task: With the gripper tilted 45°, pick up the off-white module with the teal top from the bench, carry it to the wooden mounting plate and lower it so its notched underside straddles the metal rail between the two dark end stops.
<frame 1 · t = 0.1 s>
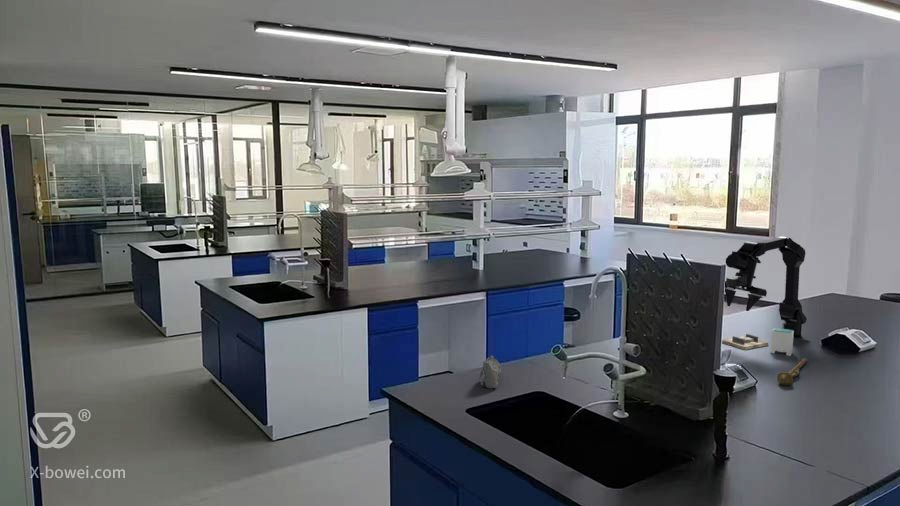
hand: (737, 308, 248), 15 cm above the counter, fingers open, 9 cm apart
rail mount: (744, 344, 251), on the counter
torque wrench: (794, 375, 215), on the counter
module: (781, 352, 239), on the counter
mineral rock: (493, 383, 208), on the counter
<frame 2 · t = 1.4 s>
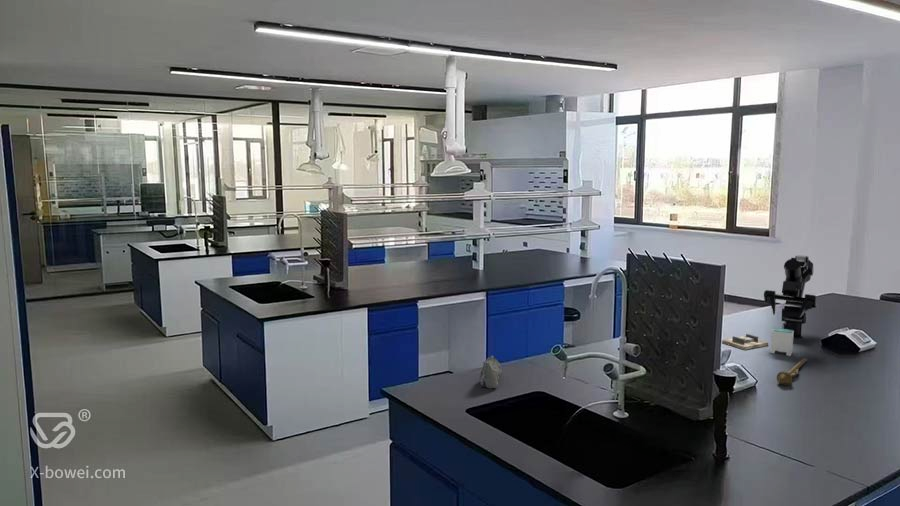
hand: (786, 315, 244), 13 cm above the counter, fingers open, 9 cm apart
nothing on the counter moved.
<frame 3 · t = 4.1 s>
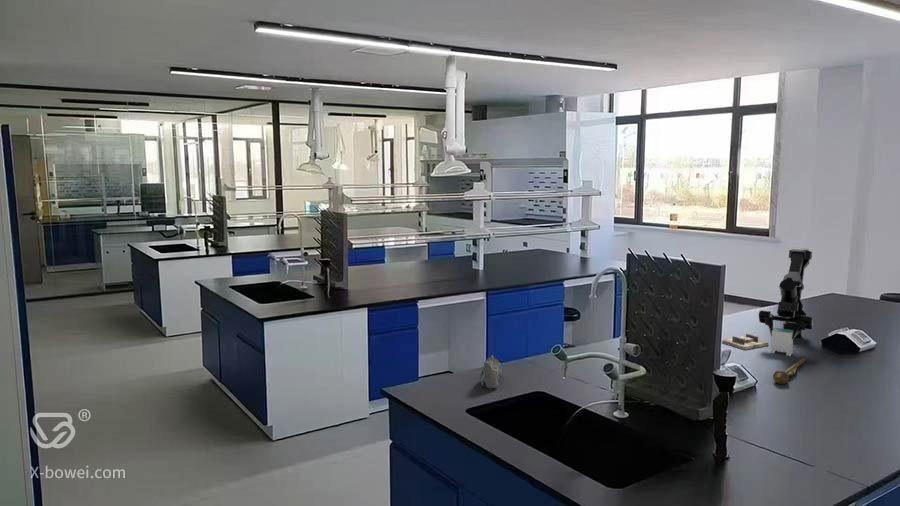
hand: (781, 337, 237), 7 cm above the counter, fingers closed on module, 7 cm apart
module: (781, 352, 239), on the counter, touching gripper
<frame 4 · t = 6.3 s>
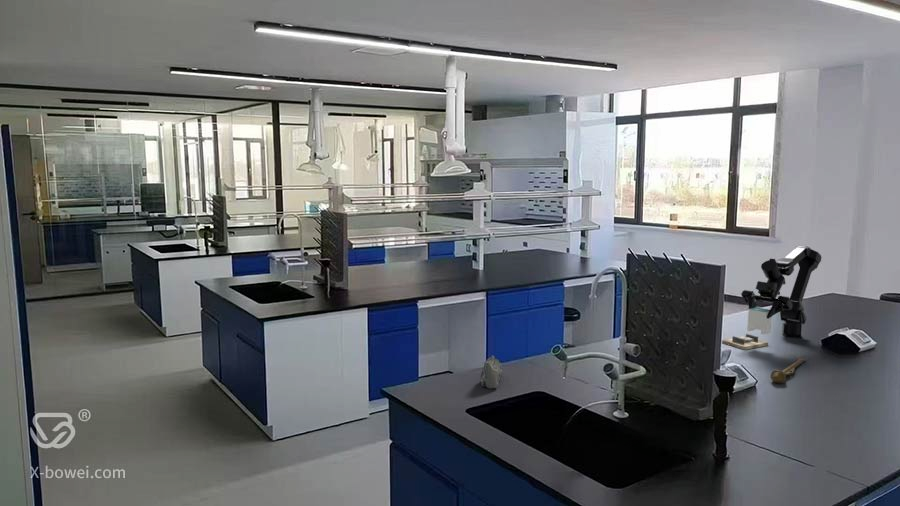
hand: (758, 316, 243), 13 cm above the counter, fingers closed on module, 7 cm apart
module: (758, 331, 245), point 7 cm above the counter, touching gripper
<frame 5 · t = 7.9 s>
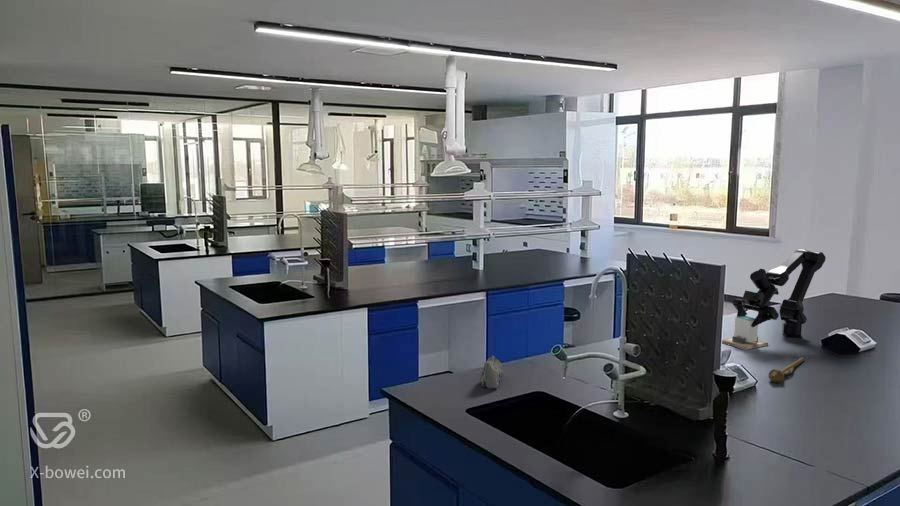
hand: (744, 324, 250), 9 cm above the counter, fingers closed on module, 7 cm apart
module: (745, 339, 251), point 2 cm above the counter, touching gripper
when the fingers open (8 cm above the counter, at t = 8.6 s): module stays where it is, resting on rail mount.
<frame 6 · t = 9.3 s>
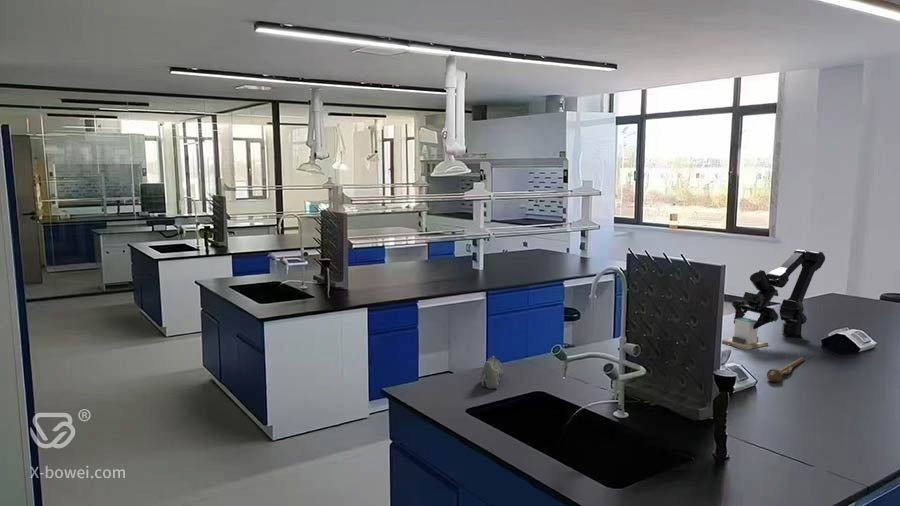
hand: (743, 325, 250), 8 cm above the counter, fingers open, 9 cm apart
module: (745, 341, 251), point 1 cm above the counter, touching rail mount
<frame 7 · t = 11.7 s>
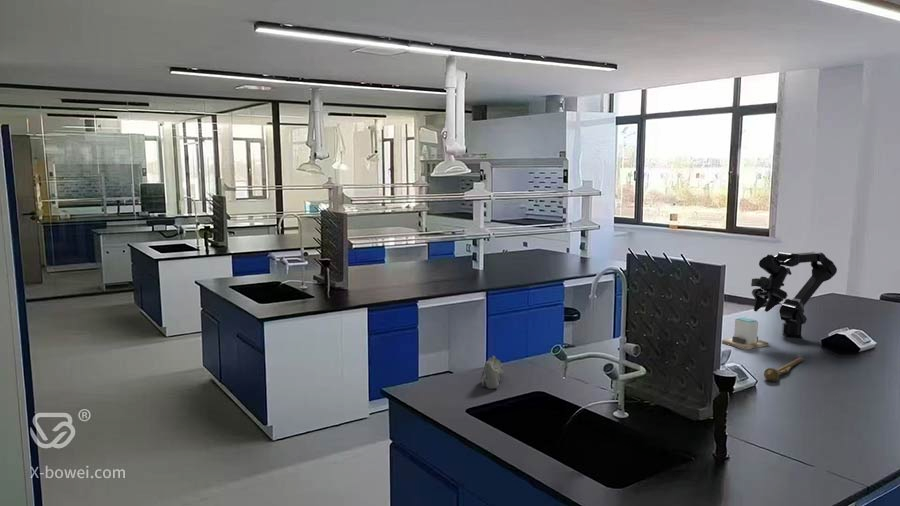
hand: (760, 311, 255), 13 cm above the counter, fingers open, 9 cm apart
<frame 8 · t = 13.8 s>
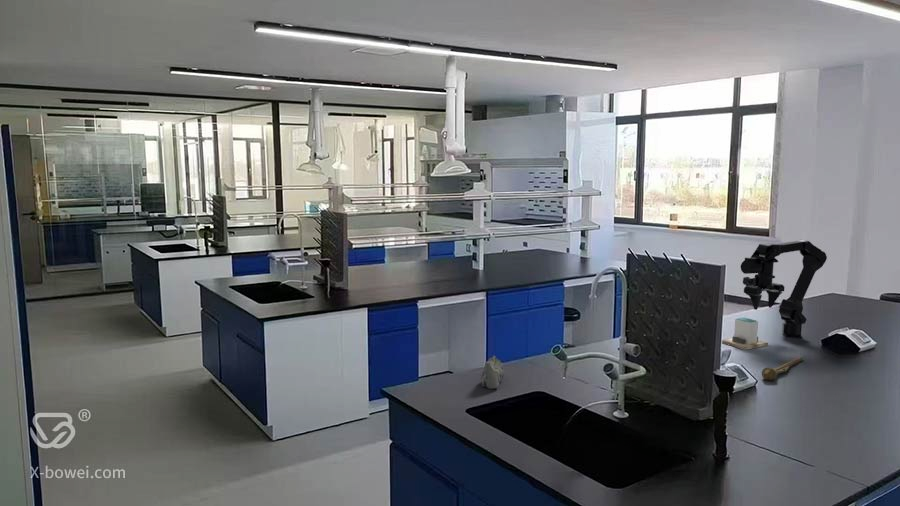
hand: (762, 308, 259), 13 cm above the counter, fingers open, 9 cm apart
at the end: module 0.0 cm off-centre on the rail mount, point 1.2 cm above the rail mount's base; module tilted 0°; the gripper is holding nothing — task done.
